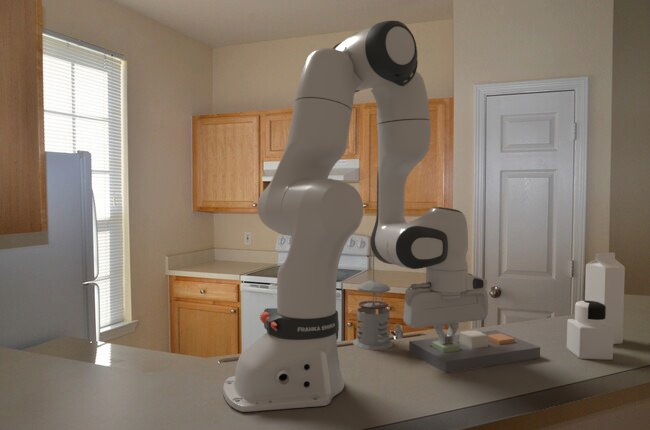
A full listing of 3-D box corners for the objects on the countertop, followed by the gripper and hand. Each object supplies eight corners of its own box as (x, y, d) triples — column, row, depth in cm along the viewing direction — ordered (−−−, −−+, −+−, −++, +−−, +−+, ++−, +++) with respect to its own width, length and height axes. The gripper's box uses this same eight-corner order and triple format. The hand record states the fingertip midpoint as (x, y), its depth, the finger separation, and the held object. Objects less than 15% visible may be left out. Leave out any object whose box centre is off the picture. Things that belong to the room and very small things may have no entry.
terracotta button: (498, 352, 107) (499, 340, 106) (485, 346, 111) (485, 335, 111) (514, 349, 108) (514, 338, 108) (500, 344, 112) (500, 333, 112)
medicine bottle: (597, 349, 111) (599, 299, 110) (613, 360, 104) (615, 306, 103) (566, 348, 111) (567, 298, 111) (579, 359, 104) (580, 305, 104)
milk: (622, 343, 115) (626, 254, 114) (602, 345, 114) (606, 254, 113) (601, 336, 121) (605, 250, 120) (582, 338, 119) (586, 251, 118)
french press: (348, 347, 112) (348, 242, 111) (360, 333, 123) (361, 237, 121) (389, 352, 108) (390, 243, 107) (398, 337, 119) (399, 239, 118)
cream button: (471, 349, 104) (472, 337, 104) (459, 343, 108) (459, 332, 108) (488, 346, 105) (488, 335, 105) (475, 341, 110) (475, 330, 109)
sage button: (443, 359, 101) (443, 347, 101) (431, 353, 105) (431, 341, 105) (460, 357, 103) (460, 345, 103) (447, 351, 107) (448, 339, 107)
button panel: (445, 373, 96) (445, 361, 96) (409, 351, 109) (409, 341, 109) (539, 357, 105) (540, 347, 105) (495, 339, 118) (496, 330, 118)
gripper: (413, 287, 97) (413, 353, 97) (493, 280, 104) (492, 341, 105) (397, 281, 103) (397, 344, 103) (474, 275, 110) (473, 333, 111)
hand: (446, 343), depth 104 cm, fingers closed, pressing on sage button
